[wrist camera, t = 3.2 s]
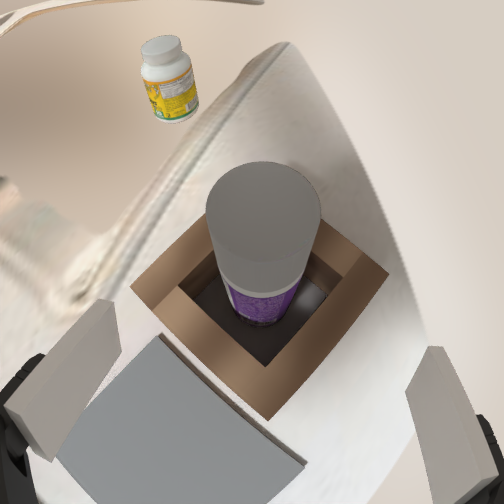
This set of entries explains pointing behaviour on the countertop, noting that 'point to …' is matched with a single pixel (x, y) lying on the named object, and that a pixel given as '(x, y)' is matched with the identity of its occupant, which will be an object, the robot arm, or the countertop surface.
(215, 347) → the walnut box
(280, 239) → the container
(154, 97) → the supplement bottle
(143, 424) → the grey mat
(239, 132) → the countertop surface
